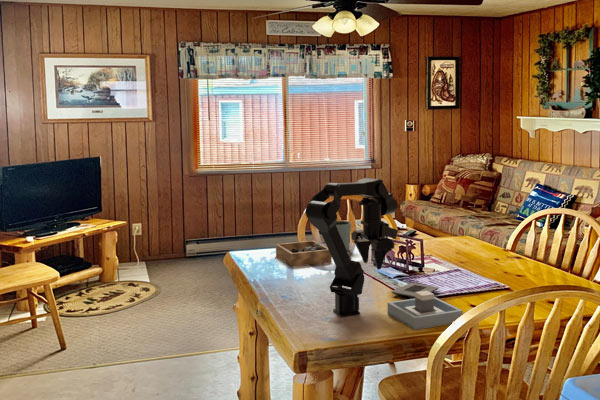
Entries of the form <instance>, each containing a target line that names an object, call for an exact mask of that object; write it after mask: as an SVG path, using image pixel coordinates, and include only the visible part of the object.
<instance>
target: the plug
mask: <svg viewBox="0 0 600 400" xmlns="http://www.w3.org/2000/svg"><path fill="white" fill-rule="evenodd" d="M434 297H435V293H434V292H432V293H431V292H429V291H420V292H415V298H414V299H415V310H416V311H418V312H419V313H426V312H433V311H434Z"/></svg>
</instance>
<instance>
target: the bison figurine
mask: <svg viewBox="0 0 600 400" xmlns="http://www.w3.org/2000/svg"><path fill="white" fill-rule="evenodd" d="M318 243H319V242H318ZM318 243H315V244H314V247H311V246H310V247H305V248H303V249H302V250H301V251H299V250H298V249H296V248H295V249H293V248H292V250H291V251H290V252H292V253H298V252H308V251H317V250H323V249H322V247H321V245H320V244H321V243H320V244H318Z"/></svg>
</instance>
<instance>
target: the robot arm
mask: <svg viewBox="0 0 600 400" xmlns="http://www.w3.org/2000/svg"><path fill="white" fill-rule="evenodd" d="M346 196H347V197H348V196H362V199H361V200H360V201H359V202H358V205H359V206H362V220H360V225H362V229H360V230H353V231H352V232H351V240H352V242H353V243H354V245H355V247H356V248H357V250H358V252H359V255H360V257H361V259H362V261H363V263H364V264H367V263H368V262H369V254H370V250H371V253H372V256H373V261H374V263H375V267H376V270H377V271H378V270H381V269H382V267H383V263H384V260H385V257H386V255H387V254H388V253H389V252H391V251H393V249H395V242H394V241H393V240H397V236H398V233H399V230H398V229H397V228H393V227H391V226H390V225H389V223H387V222H385V221H383V220H382V216H383V217H384V216H386V215H390V214H395V213H396V211H397V210H398V208H399V204H398V201H397V199H396V198H395V197H394V196H393V192H389V191H388V188H387V186H386V185H385V183H384V181H383V179H381V178H380V179H379V178H372V177H371V178H368V177H363V178H361V179H358V180H357V181H355V182H328V183H326V184H325V185H324V187H323V189H321V190H320V191H318V192H317V193H316V194H315V195H313V196H312V198H311V200H310V201H309V202H308V204H307V206H306V207H305V216H306V218H307V219H308V221H309V223H310V224H311V225H312V226H313V227H315V228H316V229H317V230H318V231H319V232H320V234H321V238H322V239H323V241H324V243H325V246H326V247H327V248H328V250H329V252H330V254H331V258H332V261H333V262H334V265H335V270H334V273H333V274H334V278H333V280H332V282H331V284H330V285H329V289H330V292H331V293H334V302H335V303H334V304H335V305H334V308H333V309H332V310H333V312H334V313H336V314H337V315H339V316H340V317H347V316H353V315H360V314H361V311H360V297H359V296H360V295H362V293H363V288H364V284H365V275H364V272H365V270H363V267H362V264H361V262H360V261H359V260H358V261H356V260H352V259H351V257H350V255H349V251H347V250H346V247H345V245H344V243H343V241H342V238H341V236H340V234H339V231H338V229H337V227H336V221H338V212H339V210H340V209H341V202H342V201H341V199H342V197H346ZM331 197H333V199H332V200H331V202H328V201H327V200H329V198H331ZM326 201H327V202H326ZM370 246H371V249H370Z"/></svg>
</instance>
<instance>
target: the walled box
mask: <svg viewBox="0 0 600 400" xmlns="http://www.w3.org/2000/svg"><path fill="white" fill-rule="evenodd" d="M463 313H464V312H463V310H462V309H460V308H458V307H456V306H454V305H452V304H450V303H448V302H446V301H444V300H442V299H440V298H438V297H436V296H434V311H433V312H426V313H419V312H418V311H416V310H415V298H409V299H402V300H395V301H388V302H387V314H388V315H389V316H391V317H393V318H395V319H396V320H398V321H400V322H401V323H403V324H404V325H405V326H408V327H409V328H411V329H412V330H414V331H417V330H421V329H422V330H423V329H428V328H435V327H441V326H446V325H452V324H451V323H452V322H453V321H455V320H456V319H457V318H458V317H460V316H461V315H463Z"/></svg>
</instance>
